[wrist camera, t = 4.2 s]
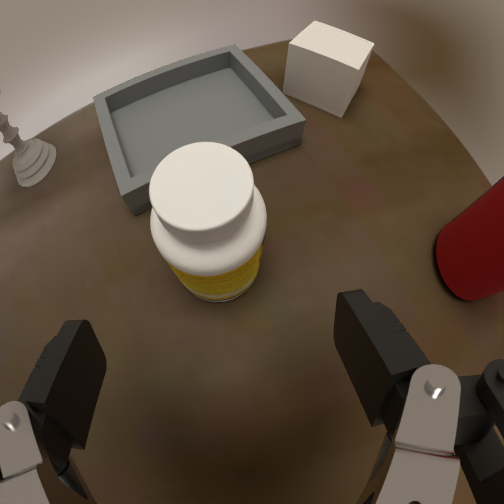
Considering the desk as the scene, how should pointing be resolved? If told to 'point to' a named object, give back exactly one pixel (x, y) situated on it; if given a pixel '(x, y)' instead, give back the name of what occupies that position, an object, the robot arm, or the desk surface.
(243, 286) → the supplement bottle
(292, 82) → the white cube
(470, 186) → the desk surface
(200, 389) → the desk surface
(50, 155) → the chalice
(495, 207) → the beverage can
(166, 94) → the tray
